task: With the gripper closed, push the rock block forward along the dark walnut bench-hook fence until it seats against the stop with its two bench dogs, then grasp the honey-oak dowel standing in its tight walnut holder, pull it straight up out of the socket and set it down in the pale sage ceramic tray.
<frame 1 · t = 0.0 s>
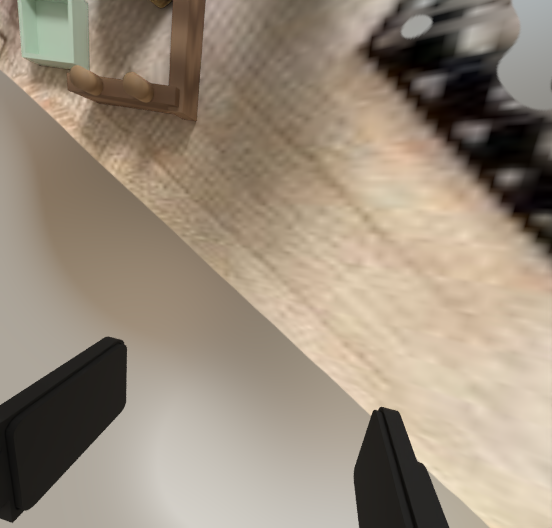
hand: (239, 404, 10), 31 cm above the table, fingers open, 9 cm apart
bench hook: (147, 32, 36), on the table
tray: (63, 35, 38), on the table
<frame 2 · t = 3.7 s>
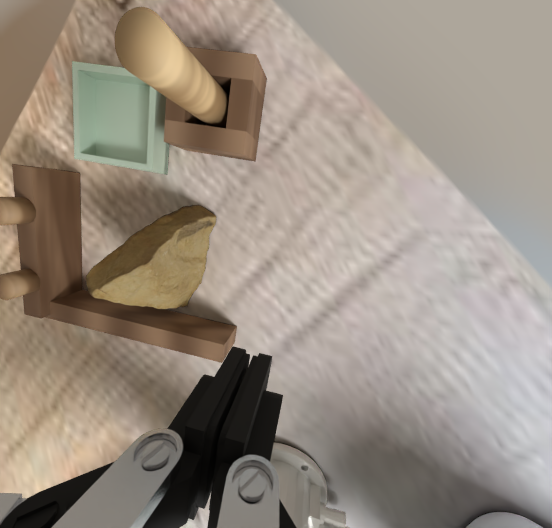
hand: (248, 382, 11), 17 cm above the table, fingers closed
holder: (224, 116, 25), on the table
dowel: (195, 90, 19), in the holder
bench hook: (140, 253, 30), on the table
tray: (132, 125, 26), on the table
rock: (193, 255, 29), on the table
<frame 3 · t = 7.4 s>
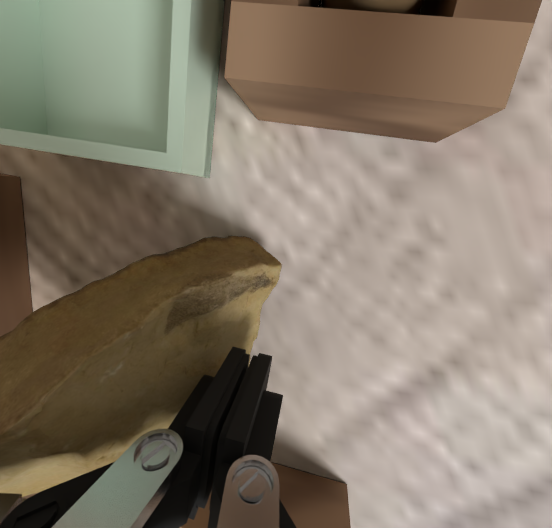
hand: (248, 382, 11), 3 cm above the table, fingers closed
holder: (364, 26, 10), on the table
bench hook: (150, 339, 15), on the table
tray: (127, 64, 11), on the table
rock: (225, 342, 13), on the table
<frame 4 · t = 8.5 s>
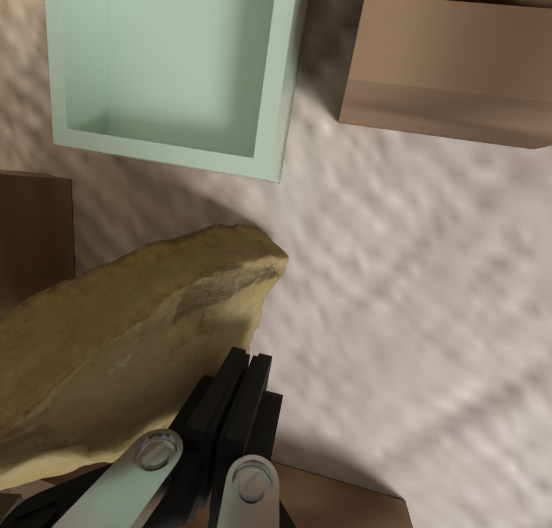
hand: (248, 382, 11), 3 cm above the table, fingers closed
holder: (464, 23, 9), on the table
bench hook: (203, 350, 14), on the table
tray: (196, 61, 11), on the table
rock: (223, 331, 13), on the table
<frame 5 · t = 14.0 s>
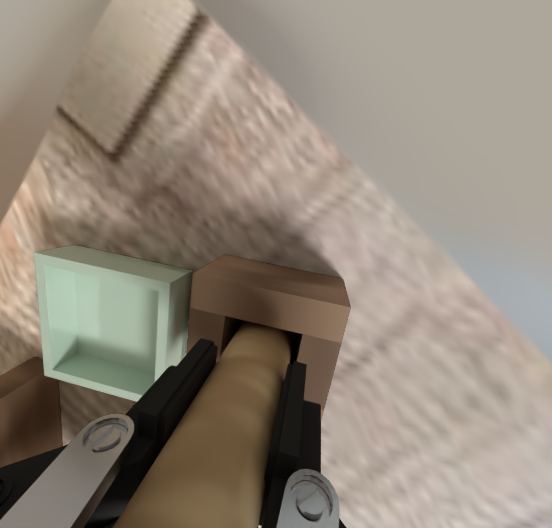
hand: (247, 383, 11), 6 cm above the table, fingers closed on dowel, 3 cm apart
holder: (272, 320, 16), on the table
dowel: (245, 388, 10), in the holder, touching gripper
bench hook: (144, 466, 21), on the table
tray: (130, 315, 18), on the table
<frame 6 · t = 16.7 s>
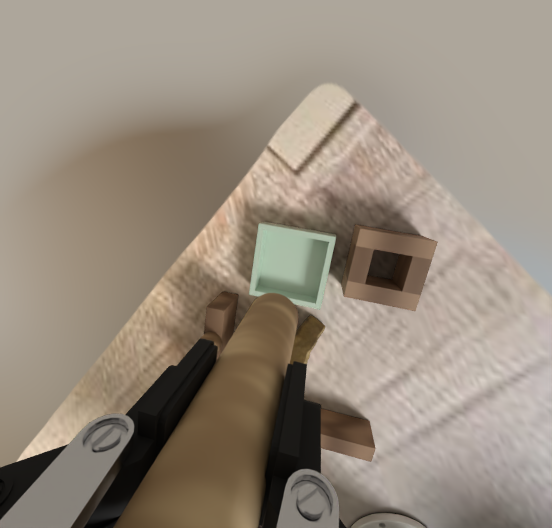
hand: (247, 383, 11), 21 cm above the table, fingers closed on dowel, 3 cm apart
holder: (379, 261, 29), on the table
dowel: (246, 385, 10), point 22 cm above the table, touching gripper
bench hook: (286, 359, 34), on the table
tray: (292, 262, 31), on the table
rock: (296, 350, 34), on the table
when the fingers open (7 cm above the table, at t = 19.6 s): dowel stays where it is, resting on tray.
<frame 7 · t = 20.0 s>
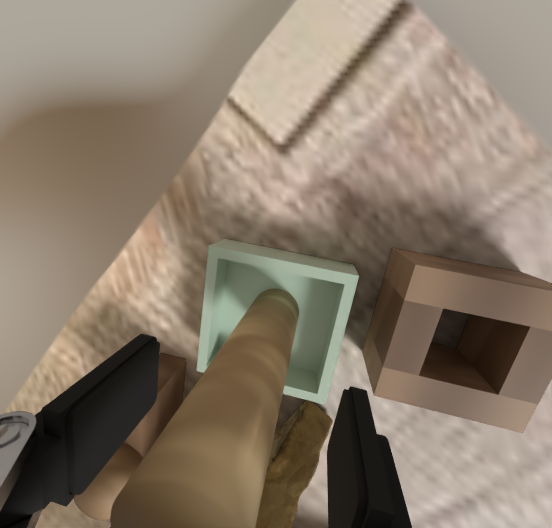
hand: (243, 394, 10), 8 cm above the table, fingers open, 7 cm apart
holder: (435, 315, 16), on the table
dowel: (251, 366, 11), in the tray, point 7 cm above the table
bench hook: (268, 463, 21), on the table
tray: (276, 310, 18), on the table
rock: (284, 449, 21), on the table
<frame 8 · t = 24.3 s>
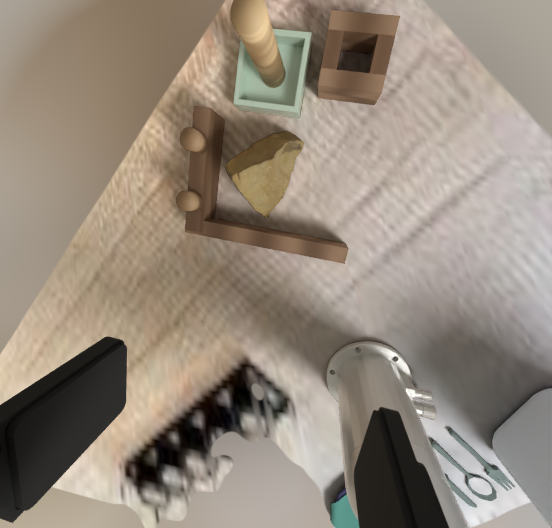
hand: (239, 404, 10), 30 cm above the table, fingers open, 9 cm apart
holder: (352, 69, 32), on the table
dowel: (263, 49, 28), in the tray, point 7 cm above the table
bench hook: (269, 185, 37), on the table
cutlery set: (410, 495, 47), on the table
tray: (274, 78, 34), on the table
rock: (278, 175, 37), on the table
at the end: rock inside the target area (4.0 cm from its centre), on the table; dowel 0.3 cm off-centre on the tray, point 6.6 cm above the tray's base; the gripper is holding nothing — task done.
